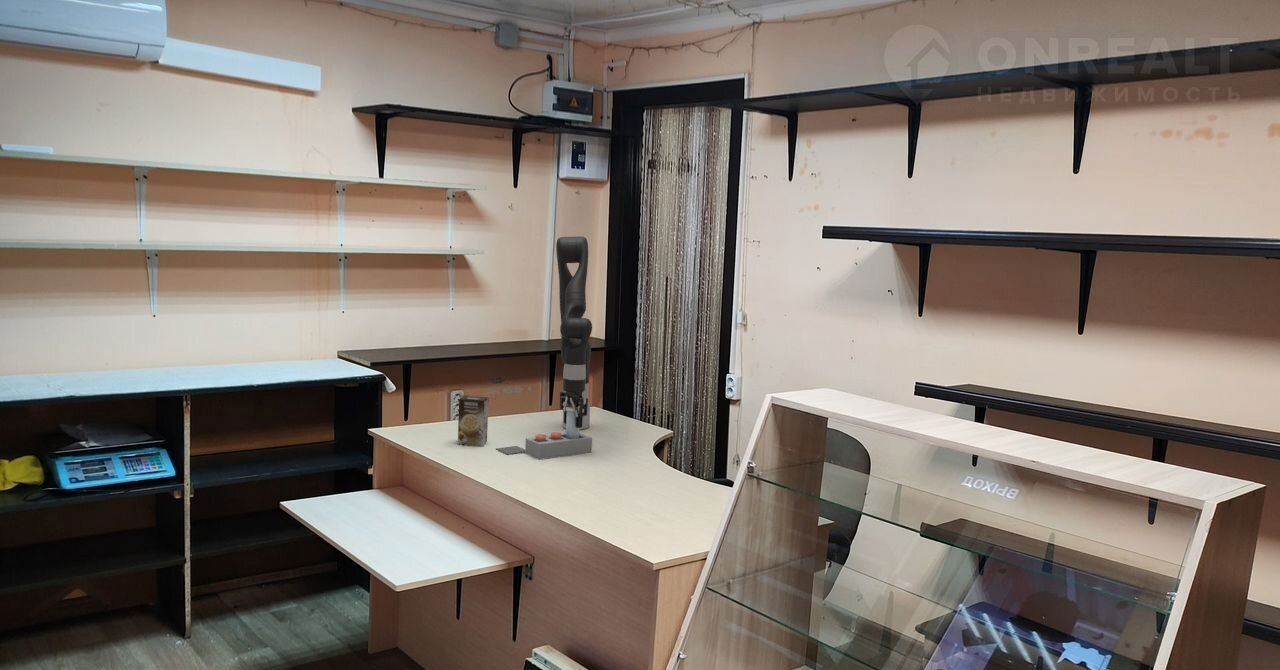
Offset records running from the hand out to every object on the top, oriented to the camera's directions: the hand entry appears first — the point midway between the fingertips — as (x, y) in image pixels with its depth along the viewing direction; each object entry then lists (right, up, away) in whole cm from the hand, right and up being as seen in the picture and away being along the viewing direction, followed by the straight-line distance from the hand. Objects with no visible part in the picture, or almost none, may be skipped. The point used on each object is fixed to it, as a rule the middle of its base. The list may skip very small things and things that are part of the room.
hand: (572, 425), depth 312 cm
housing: (-4, -9, -2) cm, 10 cm away
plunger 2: (-6, -8, -3) cm, 10 cm away
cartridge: (0, -9, +1) cm, 9 cm away
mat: (-20, -8, -3) cm, 22 cm away
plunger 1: (-10, -8, -7) cm, 15 cm away
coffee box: (-35, -7, +5) cm, 36 cm away
